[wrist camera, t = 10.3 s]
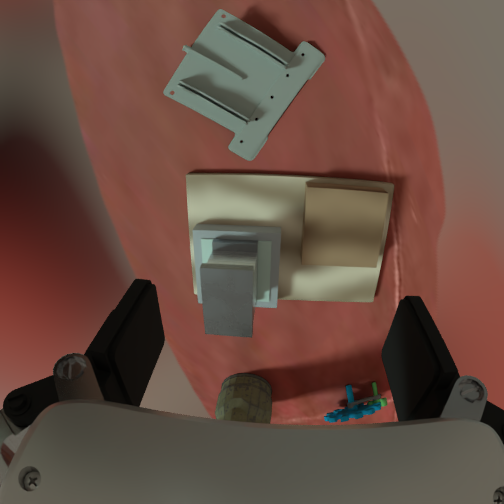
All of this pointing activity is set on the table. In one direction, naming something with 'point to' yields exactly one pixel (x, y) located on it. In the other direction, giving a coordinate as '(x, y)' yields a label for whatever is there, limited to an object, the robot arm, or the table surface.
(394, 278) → the table surface
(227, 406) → the thermos
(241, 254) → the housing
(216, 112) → the metal bracket
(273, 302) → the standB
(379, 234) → the stand
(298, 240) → the board
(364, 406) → the gear
